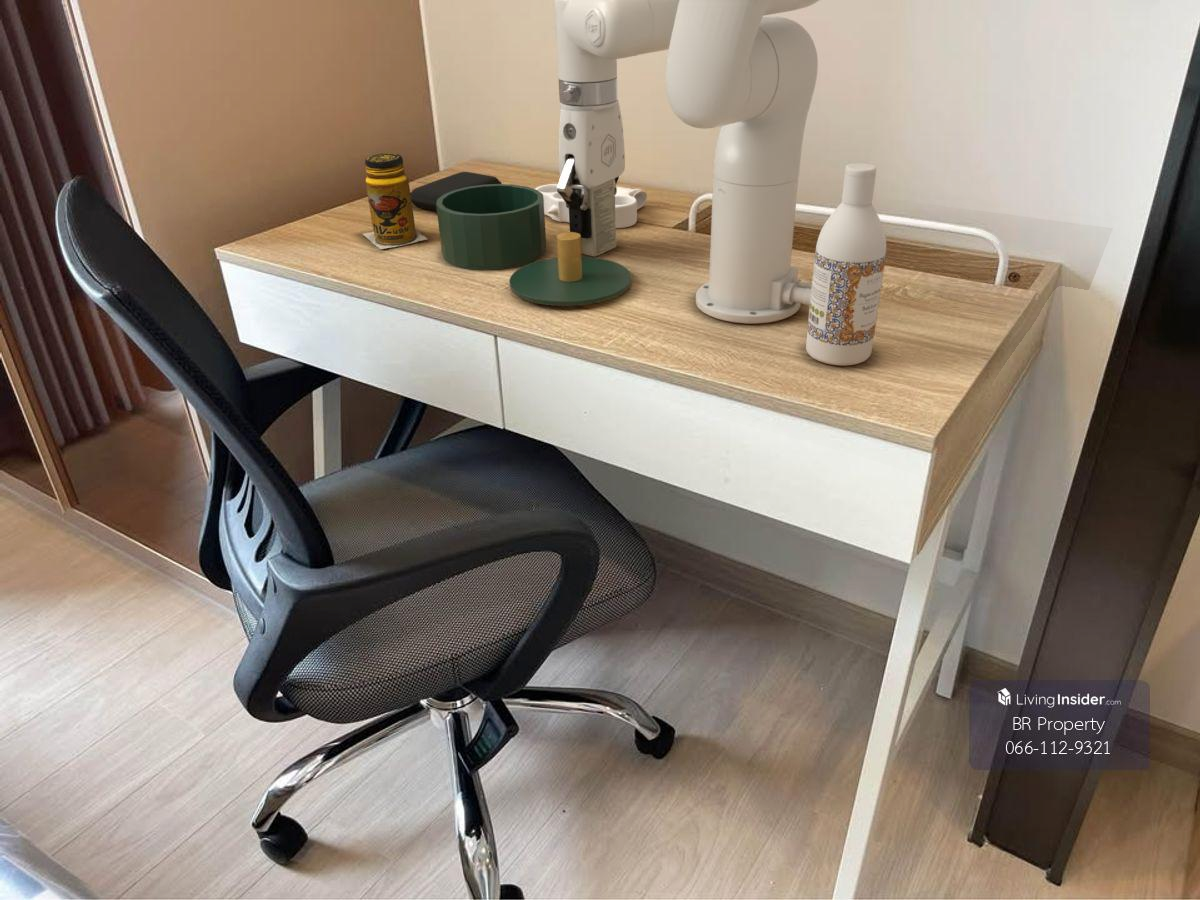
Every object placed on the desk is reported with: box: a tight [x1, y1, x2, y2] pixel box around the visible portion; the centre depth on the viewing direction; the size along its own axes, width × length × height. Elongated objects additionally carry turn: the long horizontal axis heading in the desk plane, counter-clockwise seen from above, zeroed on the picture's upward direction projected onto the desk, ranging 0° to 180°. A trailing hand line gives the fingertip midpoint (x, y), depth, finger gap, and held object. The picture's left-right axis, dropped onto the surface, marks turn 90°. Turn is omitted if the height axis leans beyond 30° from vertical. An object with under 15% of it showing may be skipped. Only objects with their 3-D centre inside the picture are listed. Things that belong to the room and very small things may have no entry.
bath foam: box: [805, 162, 887, 367], centre depth 93 cm, size 7×7×20 cm
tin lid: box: [509, 231, 633, 307], centre depth 115 cm, size 16×16×7 cm
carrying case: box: [410, 171, 503, 212], centre depth 150 cm, size 11×3×15 cm
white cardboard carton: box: [575, 179, 617, 258], centre depth 126 cm, size 5×4×10 cm
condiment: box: [361, 152, 428, 250], centre depth 132 cm, size 7×8×12 cm
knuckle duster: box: [534, 183, 648, 229], centre depth 142 cm, size 3×18×15 cm
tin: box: [436, 183, 547, 271], centre depth 127 cm, size 15×15×8 cm
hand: (593, 228), depth 127 cm, fingers closed on white cardboard carton, 5 cm apart
